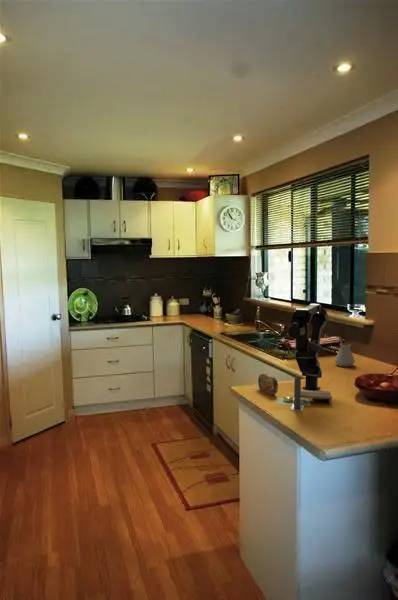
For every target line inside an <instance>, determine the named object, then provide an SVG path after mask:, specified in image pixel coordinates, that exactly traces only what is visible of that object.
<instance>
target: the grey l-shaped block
mask: <svg viewBox="0 0 398 600" xmlns="http://www.w3.org/2000/svg"><path fill="white" fill-rule="evenodd" d="M301 387H302V377H301V376H295V377H294V387H293V388H294V390H293V391H294V392H293V393H294V395H293V404H292V405H291V408H290V411H293V412H304V409H305V406H306V405H305V401H306V399H307V398H301V390H302V388H301Z"/></svg>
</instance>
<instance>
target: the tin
mask: <svg viewBox="0 0 398 600" xmlns="http://www.w3.org/2000/svg"><path fill="white" fill-rule="evenodd" d="M257 384H258V388H259V390H260V391H261V392H263V393H265V394H267V395H268V396H274V395H276V394H277V393H278V389H279V382H278V380H277V379H276V377H274V376H271V375H269V374H267V373H260V374H259V376H258V379H257Z"/></svg>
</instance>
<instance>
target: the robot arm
mask: <svg viewBox="0 0 398 600" xmlns="http://www.w3.org/2000/svg"><path fill="white" fill-rule="evenodd" d="M290 320H291V321H290V324H291V326H290V327H289V328H288V330H287V331H288V332H287V333H288V336H289V338H291V339H295V345H294V357H295V360H296V363H297V366H298V368H299V371H300V372H301V376H302V377H305V386H303V387H302V390H303V389H304V390H308V391H318V390H319V389H320V390H321V386H318V385H319V384H318V383H319V382H318V381H319V380H318V379H321V378H322V377H323V371H322V368H321V366H320V365H321V364H320V361H319V359H318V358H319V357H318V356H319V353H320V351H321V348H322V346H321V345H320V343H321V338H322V332H323V329H324V328H325V327H326V326H327V322H328V321H329V314H328V311H327V309H325V308H323V307H322V305H321V304H320V303H310V304H309V305H307V306H306V307H304V308H295V310H294V311H293V314H292V317H291V319H290ZM310 324H311V326H312V329H311V336H310V339H309V325H310Z"/></svg>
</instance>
